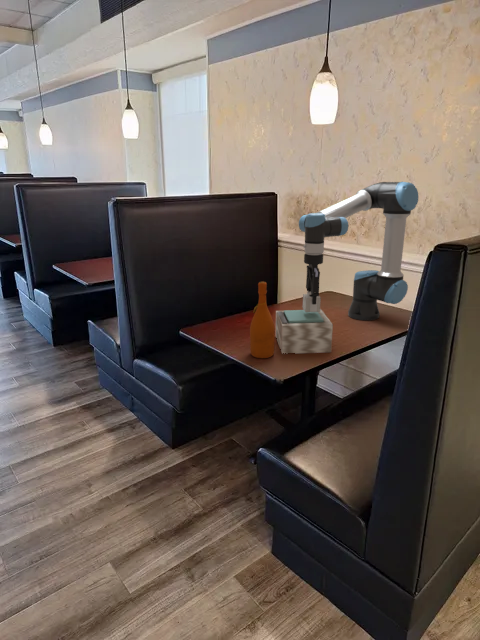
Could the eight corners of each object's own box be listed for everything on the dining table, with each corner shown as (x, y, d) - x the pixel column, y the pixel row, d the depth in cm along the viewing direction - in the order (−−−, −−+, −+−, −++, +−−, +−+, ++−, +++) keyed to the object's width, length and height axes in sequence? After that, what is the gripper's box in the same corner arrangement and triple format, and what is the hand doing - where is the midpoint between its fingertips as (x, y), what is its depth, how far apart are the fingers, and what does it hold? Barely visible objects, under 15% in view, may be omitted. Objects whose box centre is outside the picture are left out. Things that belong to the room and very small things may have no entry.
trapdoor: (315, 311, 187) (315, 309, 187) (323, 322, 174) (323, 319, 174) (283, 312, 186) (283, 310, 186) (288, 323, 173) (289, 320, 173)
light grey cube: (316, 307, 182) (317, 293, 180) (319, 311, 177) (320, 297, 175) (302, 307, 182) (303, 294, 180) (305, 312, 176) (305, 298, 174)
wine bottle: (271, 349, 179) (272, 278, 169) (277, 358, 170) (277, 284, 160) (248, 350, 178) (247, 279, 168) (252, 360, 168) (251, 285, 159)
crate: (319, 335, 194) (321, 308, 190) (331, 352, 175) (332, 323, 171) (275, 336, 193) (275, 309, 189) (282, 353, 174) (282, 324, 170)
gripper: (300, 249, 181) (298, 302, 188) (309, 257, 163) (307, 316, 170) (317, 249, 181) (315, 302, 188) (329, 257, 163) (325, 315, 170)
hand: (311, 308), depth 179 cm, fingers closed on light grey cube, 6 cm apart
